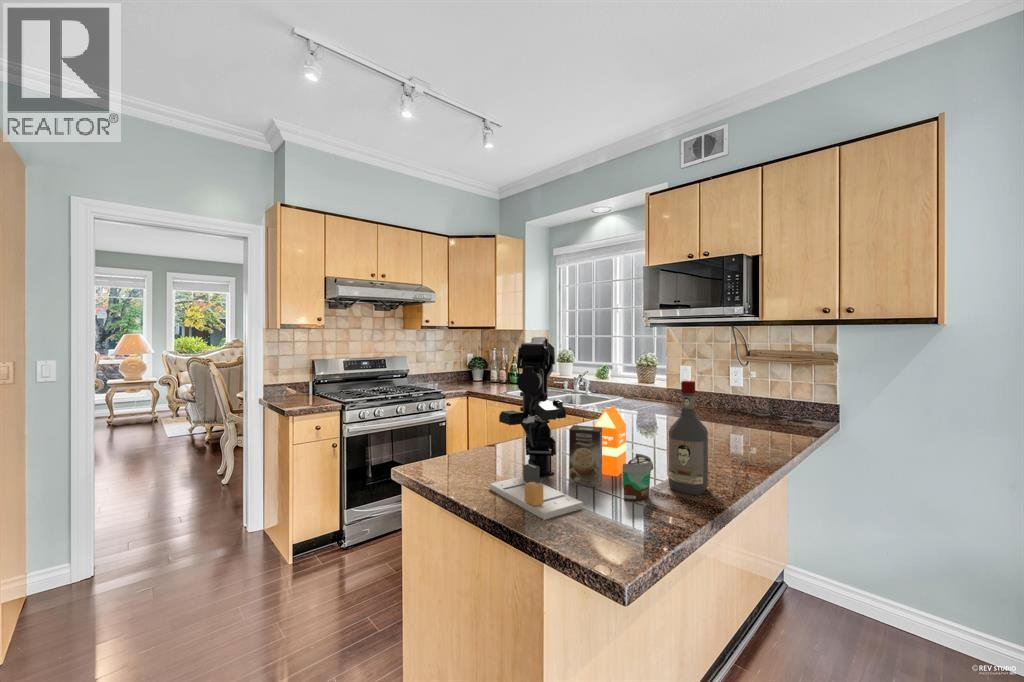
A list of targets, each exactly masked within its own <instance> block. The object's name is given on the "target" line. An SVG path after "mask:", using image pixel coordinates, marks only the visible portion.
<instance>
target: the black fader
mask: <svg viewBox="0 0 1024 682" xmlns="http://www.w3.org/2000/svg"><path fill="white" fill-rule="evenodd" d="M522 466H523V467H522V468H523V469H522V470H523V471H522V473H523V475H522V476H523V481H525V482H527V483H529V482H536V483H541V481H540V479H541V477H540V467H539V466H536V465H534V464H528V463H526V464H522Z"/></svg>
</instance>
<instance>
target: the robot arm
mask: <svg viewBox="0 0 1024 682" xmlns="http://www.w3.org/2000/svg"><path fill="white" fill-rule="evenodd" d="M554 365H556V352H555V347H554V346H553V345H552V344H551V343H550V342H549V338H548V337H546V336H545V337H544V336H537V337H532V338H531V341H530V342H522V343H521V344H520V346H519V347H518V352H517V362H516V369H519V370H520V369H521V370H522V372H521V373H520V374H519V376H518V377H517V380H516V382H517V383H516V384H517V387H518V389H519V390H520V392H519V396H520V397H522V406H521V407H520V409H519V411H518V410H514V409H513V410H502V411H501V412H500V414H499V416H498V422H499V423H502V424H505V425H509V426H517V425H520V426H521V427H522V429H523V431H524V433H525V442H524V443H525V456H528V457H529V458H528V463H527V464H534V465H536V466H539V467H540V478H543V477H549V476H552V475H555V471H553V470H552V457H554V456H556V454H557V445H556V440H555V438H554V436H553V435H552V430H551V428H550V427H549V425H548V424H549V423H550V422H551V420H553V421H555V420H557V419H566V418H567V411H566V409H565V407H564V405H563V403H564V401H562V400H561V399H555V400H549V398H548V387H549V385H548V384H549V383H548V382H549V377H550V376H551V375H552V373H553V372H554Z"/></svg>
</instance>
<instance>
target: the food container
mask: <svg viewBox="0 0 1024 682" xmlns="http://www.w3.org/2000/svg"><path fill="white" fill-rule="evenodd" d="M652 470H654V463H653V460H652V459H651V457H649V456H647V455H645V454H641V453H635V457H633V458H632V459H630V460H628V462H627V463H626V464H623V466H622V478H623V479H622V480H623V481H622V483H623V501H624V502H629V503H631V502H633V503H639V502H640V503H641V502H645V501H648V499H650V498H649V497H650V486H651V483H650V482H651V474H652V473H651V472H652Z"/></svg>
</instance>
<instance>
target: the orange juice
mask: <svg viewBox="0 0 1024 682" xmlns="http://www.w3.org/2000/svg"><path fill="white" fill-rule="evenodd" d="M592 427H602V475H604V476H605V475H606V476H612V477H618V476H619V475H621V474H623V472H622V466H623V464H627V423H626V422H625V421H624V419H623V418H622V416H621V414H620V412H618V410H617V408H616V406H611V407H609V408H606V409H604V411H603V412H602V414H601V415H600V416H599V418H598V419H597V420H596V422H595V423H594V424H593V426H592Z"/></svg>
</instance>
